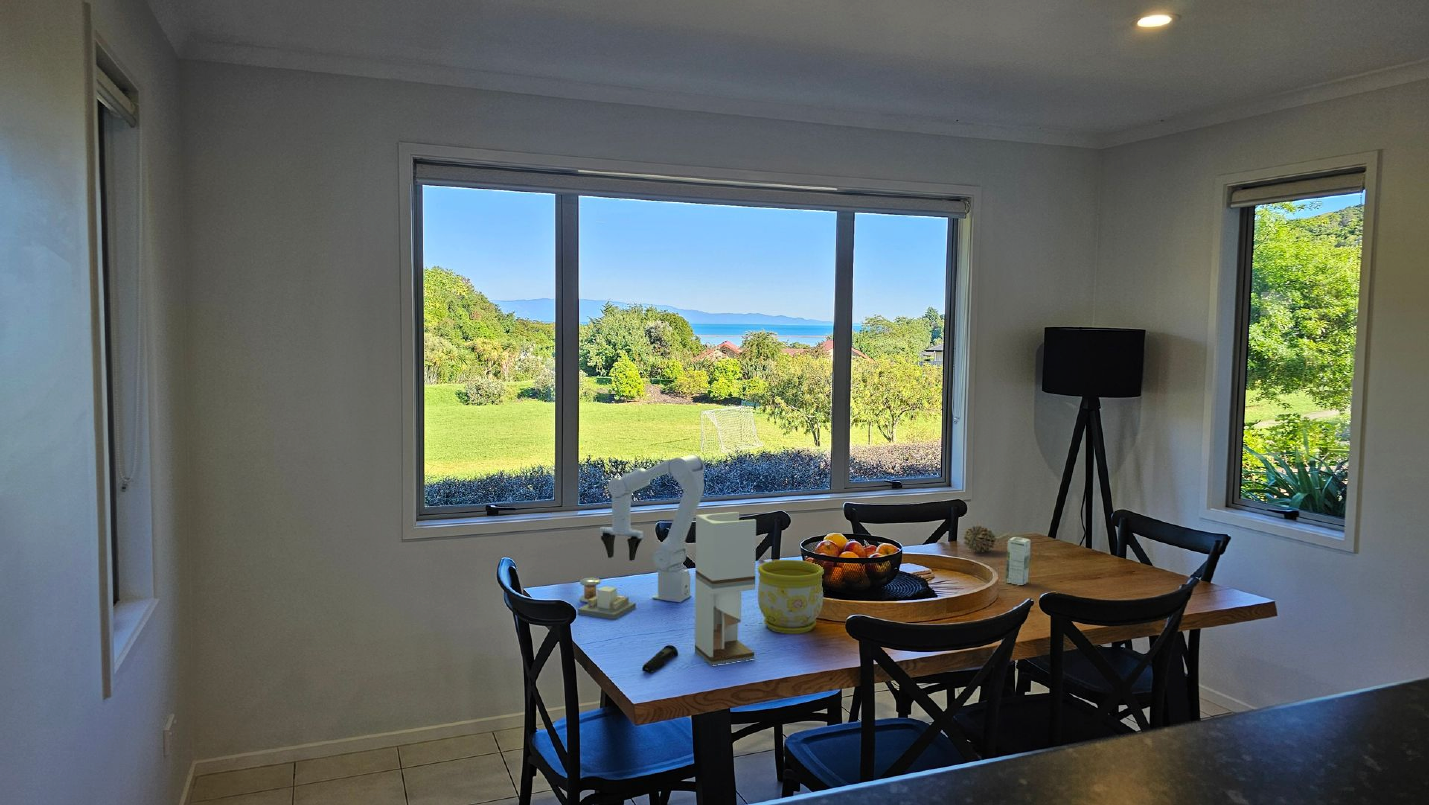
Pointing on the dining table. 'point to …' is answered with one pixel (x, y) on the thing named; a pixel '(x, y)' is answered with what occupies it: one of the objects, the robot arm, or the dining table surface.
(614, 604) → the notched board
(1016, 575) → the syrup box
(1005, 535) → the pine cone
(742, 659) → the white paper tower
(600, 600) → the block
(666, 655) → the electric trimmer
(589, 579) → the bobbin spool
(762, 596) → the flowerpot
